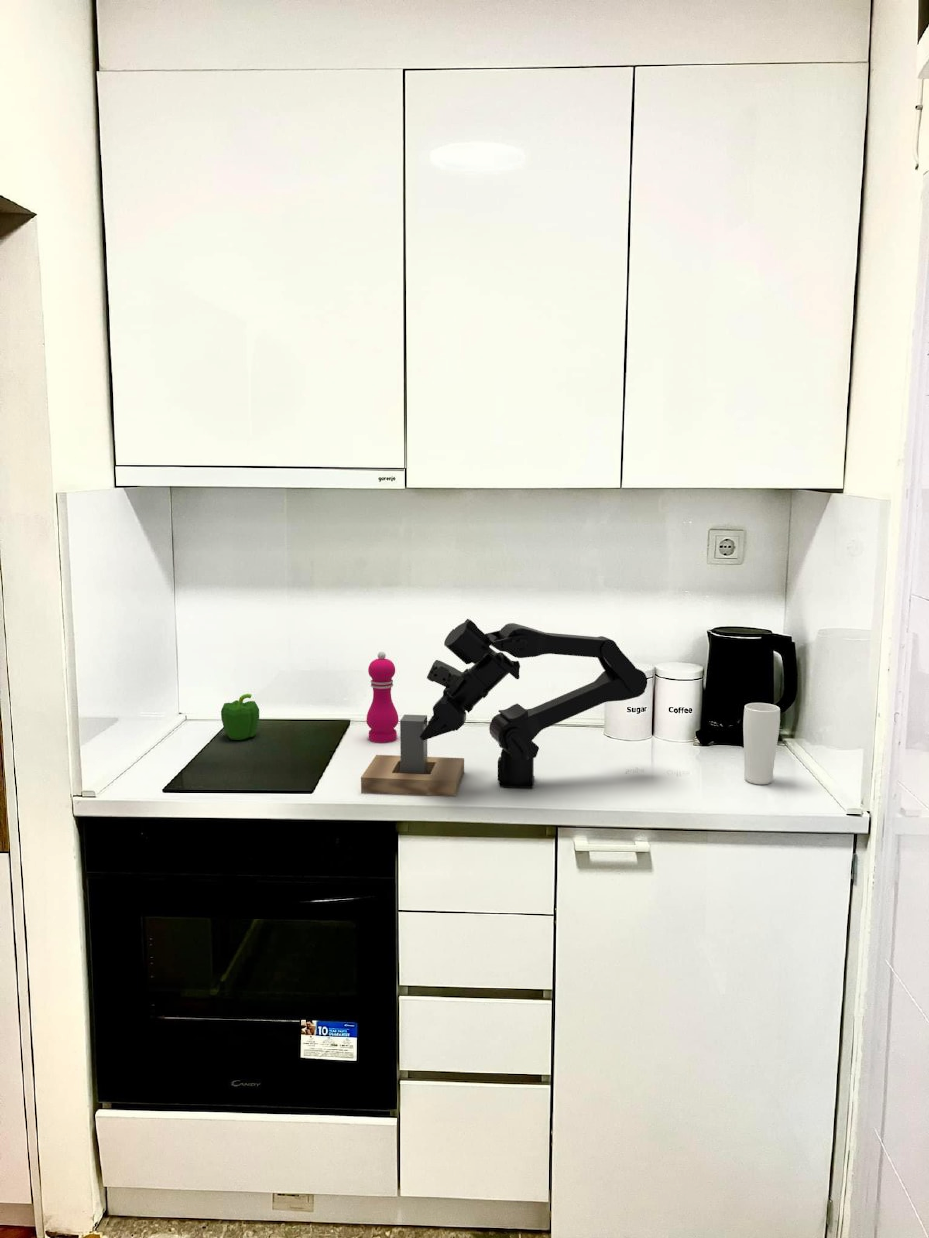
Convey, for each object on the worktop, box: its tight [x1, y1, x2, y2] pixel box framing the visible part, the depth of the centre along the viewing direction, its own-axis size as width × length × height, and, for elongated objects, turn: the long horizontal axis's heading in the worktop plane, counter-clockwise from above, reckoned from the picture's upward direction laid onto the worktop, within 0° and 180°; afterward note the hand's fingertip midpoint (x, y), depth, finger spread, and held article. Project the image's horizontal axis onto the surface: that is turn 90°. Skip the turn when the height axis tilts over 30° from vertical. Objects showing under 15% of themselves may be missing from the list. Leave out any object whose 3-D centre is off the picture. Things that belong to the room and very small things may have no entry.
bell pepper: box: [220, 693, 260, 741], centre depth 218 cm, size 8×8×10 cm
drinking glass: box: [742, 702, 781, 785], centre depth 189 cm, size 7×7×15 cm
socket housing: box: [360, 754, 465, 797], centre depth 189 cm, size 18×14×3 cm
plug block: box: [399, 714, 428, 774], centre depth 188 cm, size 4×4×13 cm
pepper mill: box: [365, 651, 400, 744], centre depth 216 cm, size 7×7×20 cm
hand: (425, 731), depth 187 cm, fingers open, 9 cm apart
